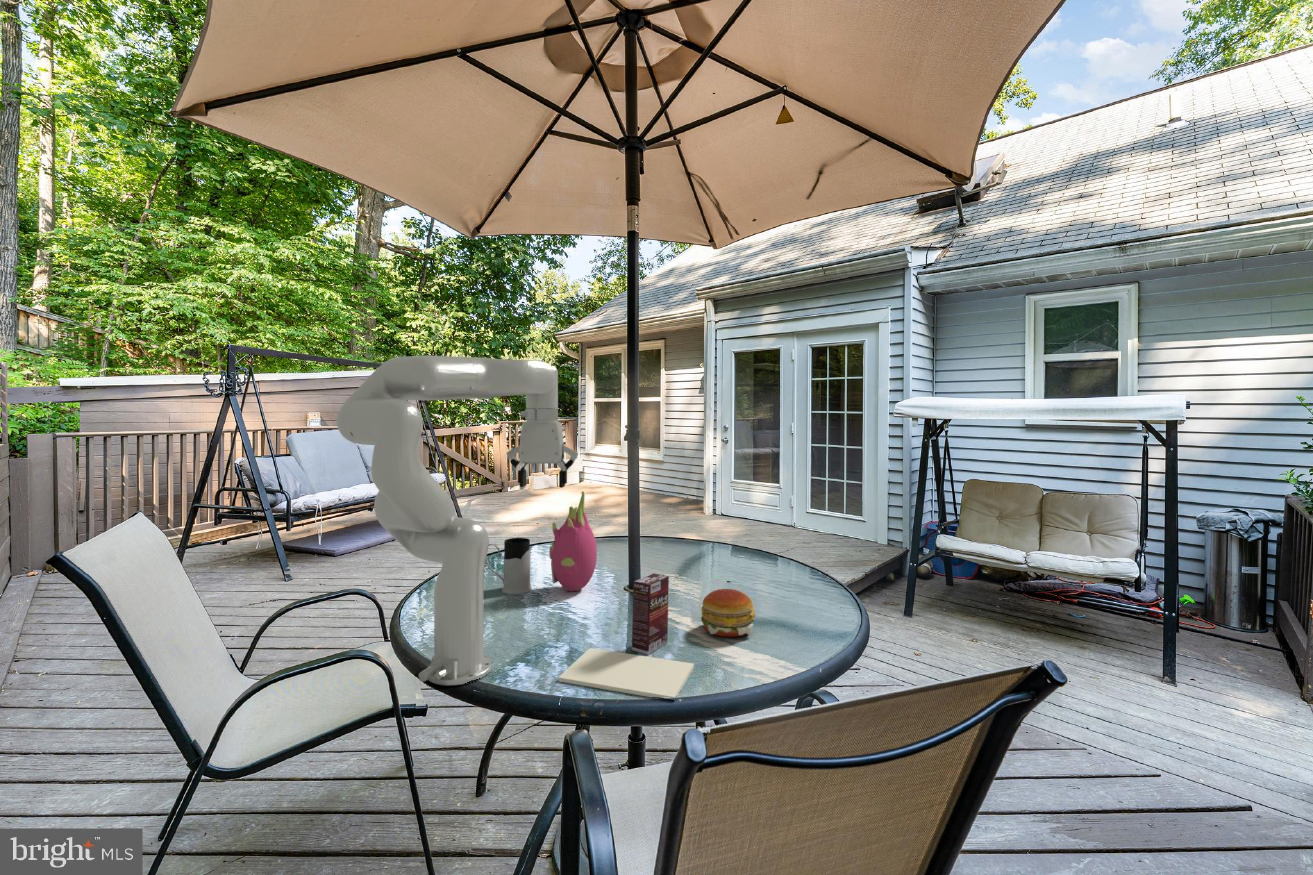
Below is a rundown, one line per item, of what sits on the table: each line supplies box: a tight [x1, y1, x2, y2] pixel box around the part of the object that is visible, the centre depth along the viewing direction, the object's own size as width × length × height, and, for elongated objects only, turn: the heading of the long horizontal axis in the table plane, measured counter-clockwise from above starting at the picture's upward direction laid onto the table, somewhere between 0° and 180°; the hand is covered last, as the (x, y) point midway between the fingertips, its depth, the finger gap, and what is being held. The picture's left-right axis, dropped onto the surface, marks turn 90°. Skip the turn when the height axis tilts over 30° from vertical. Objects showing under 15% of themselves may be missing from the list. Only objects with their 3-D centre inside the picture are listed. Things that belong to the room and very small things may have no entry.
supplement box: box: [631, 572, 670, 656], centre depth 129 cm, size 9×5×16 cm, turn 148°
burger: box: [700, 588, 756, 638], centre depth 139 cm, size 14×14×10 cm
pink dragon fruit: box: [549, 490, 598, 592], centre depth 170 cm, size 18×14×30 cm
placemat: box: [557, 647, 695, 698], centre depth 115 cm, size 15×24×1 cm, turn 72°
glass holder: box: [485, 537, 533, 595], centre depth 170 cm, size 9×14×15 cm, turn 89°
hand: (542, 486), depth 137 cm, fingers open, 9 cm apart
